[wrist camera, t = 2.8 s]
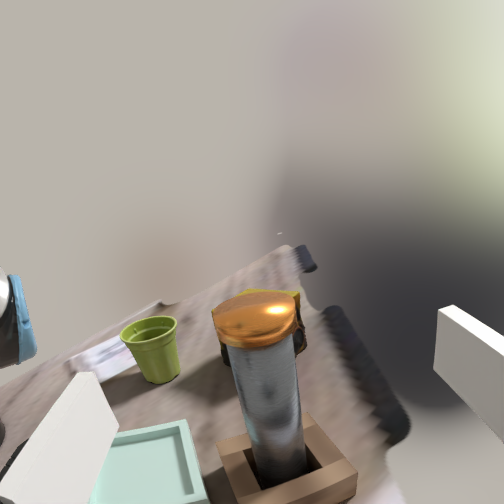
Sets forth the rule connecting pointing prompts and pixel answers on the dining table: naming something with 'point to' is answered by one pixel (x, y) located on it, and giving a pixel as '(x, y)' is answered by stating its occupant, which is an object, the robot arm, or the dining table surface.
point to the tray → (151, 468)
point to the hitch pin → (266, 380)
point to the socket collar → (300, 489)
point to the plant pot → (154, 347)
